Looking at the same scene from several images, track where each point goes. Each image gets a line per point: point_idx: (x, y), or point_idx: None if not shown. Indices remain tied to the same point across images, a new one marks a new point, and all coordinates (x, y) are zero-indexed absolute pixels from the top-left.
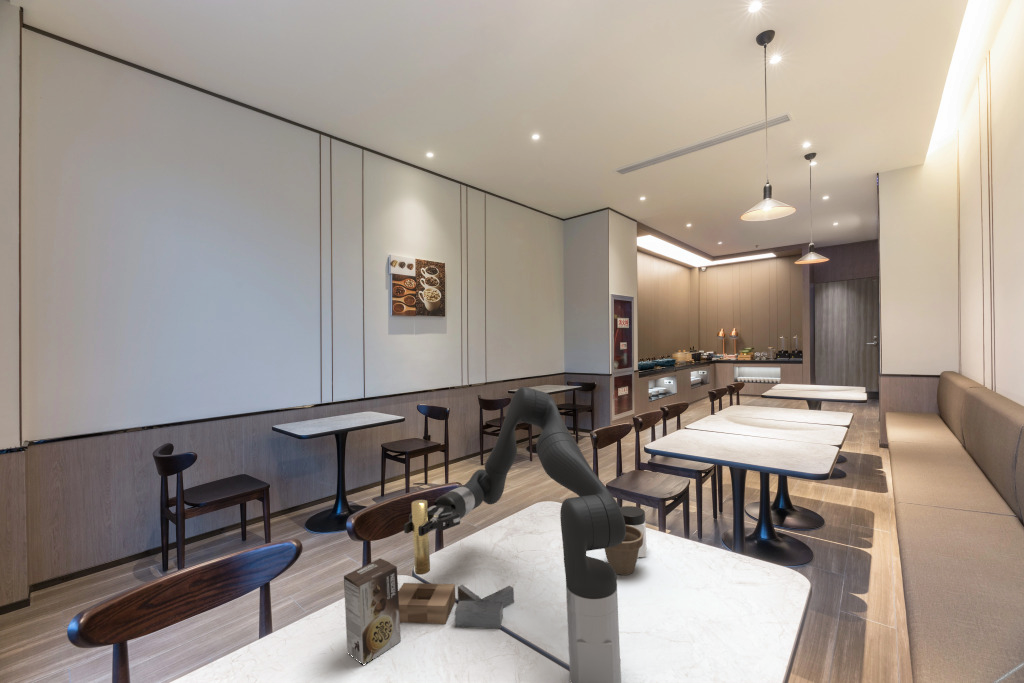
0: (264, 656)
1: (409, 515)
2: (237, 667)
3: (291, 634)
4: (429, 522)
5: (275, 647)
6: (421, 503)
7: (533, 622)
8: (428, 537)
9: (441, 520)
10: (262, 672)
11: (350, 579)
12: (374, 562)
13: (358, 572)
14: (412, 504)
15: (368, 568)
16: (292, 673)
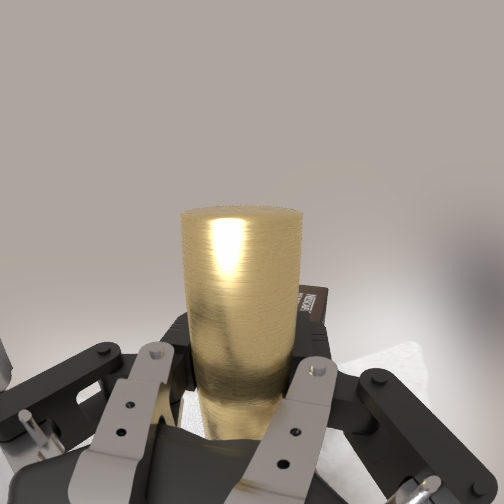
0: (404, 363)
1: (384, 369)
2: (407, 348)
3: (424, 391)
4: (174, 341)
5: (411, 374)
6: (214, 210)
7: (10, 474)
8: (202, 418)
9: (98, 344)
10: (377, 354)
11: (303, 285)
12: (311, 317)
13: (309, 294)
14: (268, 206)
15: (301, 302)
16: (345, 363)
